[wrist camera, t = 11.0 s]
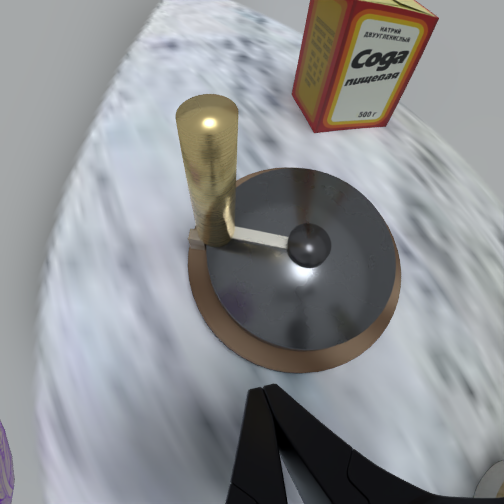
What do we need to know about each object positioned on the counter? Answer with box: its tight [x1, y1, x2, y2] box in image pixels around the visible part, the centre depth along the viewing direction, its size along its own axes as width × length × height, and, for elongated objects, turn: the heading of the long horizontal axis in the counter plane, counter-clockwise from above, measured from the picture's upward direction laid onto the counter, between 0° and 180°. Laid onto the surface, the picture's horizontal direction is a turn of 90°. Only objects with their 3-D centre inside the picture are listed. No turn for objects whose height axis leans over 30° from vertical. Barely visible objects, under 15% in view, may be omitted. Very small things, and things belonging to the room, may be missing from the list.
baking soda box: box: [292, 0, 439, 133], centre depth 25 cm, size 10×6×16 cm
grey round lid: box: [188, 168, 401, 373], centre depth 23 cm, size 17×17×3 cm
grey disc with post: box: [176, 94, 396, 351], centre depth 18 cm, size 15×14×12 cm
